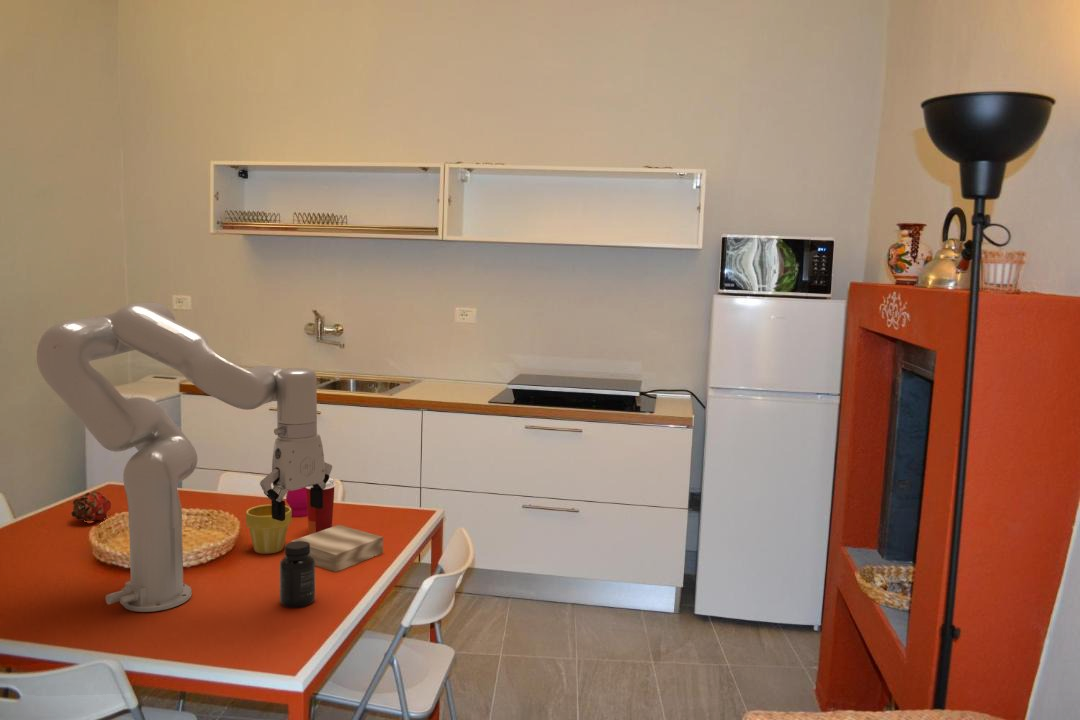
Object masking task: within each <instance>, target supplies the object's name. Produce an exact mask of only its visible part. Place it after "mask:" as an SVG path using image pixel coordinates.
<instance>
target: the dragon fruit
mask: <svg viewBox="0 0 1080 720" xmlns="http://www.w3.org/2000/svg"><path fill="white" fill-rule="evenodd" d="M72 505H73V508H72V509H73V511H72V512H71V516H72V517H73V518H75V519H77V520H80V521H82V520H85V521H100V520H99V519H103V520H104V518H106V519H107V513H108V511H110V510H111V507H112V503H111V500H109V499H108V497H107V496H106V495H105V494H103V493H101V492H100V491H96V490H93V491H92V492H87V493H85V494H82V495H81V496H80V498H76V499H74V500H73V501H72Z"/></svg>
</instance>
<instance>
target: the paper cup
mask: <svg viewBox="0 0 1080 720" xmlns="http://www.w3.org/2000/svg"><path fill="white" fill-rule="evenodd" d="M336 486H337V484H336V482H335V480H334V479H333V478H331V477H329V480H328V481H327V483H326V488H325V489H323V508H322V509H318V508H314V507H311V506H310V488H312V487H313V486H312V485H311V486H308V487H305V488H306V497H307V514H308V515H307V524H308V525H307V527H308V535H310V534H313V533H316V532H319V531H322V530H325V529H328V528H331V527H333V516H334V515H333V513H334V503H335V502H334V501H335V487H336Z"/></svg>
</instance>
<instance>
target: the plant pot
mask: <svg viewBox="0 0 1080 720" xmlns="http://www.w3.org/2000/svg"><path fill="white" fill-rule="evenodd" d="M292 517H293V516H292V510H291V508H290V506H289V505H285V520H284V521H279V520H276V519H273V518H272V504H271V503H270V504H260V505H256V506H253V507H250V508H248V509H247V510H246V512H245V525H246V527H248V528H249V532H250V537H251V542H252V546H253V550H254V552H255V553H257V554H265V555H271V554H276V553H278V552H281V551H282V550H283V549H284V548H285V546H284V545H285V543H286V542H285V541H286V537H287V532H288V527H289V526H290V524H291V523H292Z"/></svg>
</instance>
